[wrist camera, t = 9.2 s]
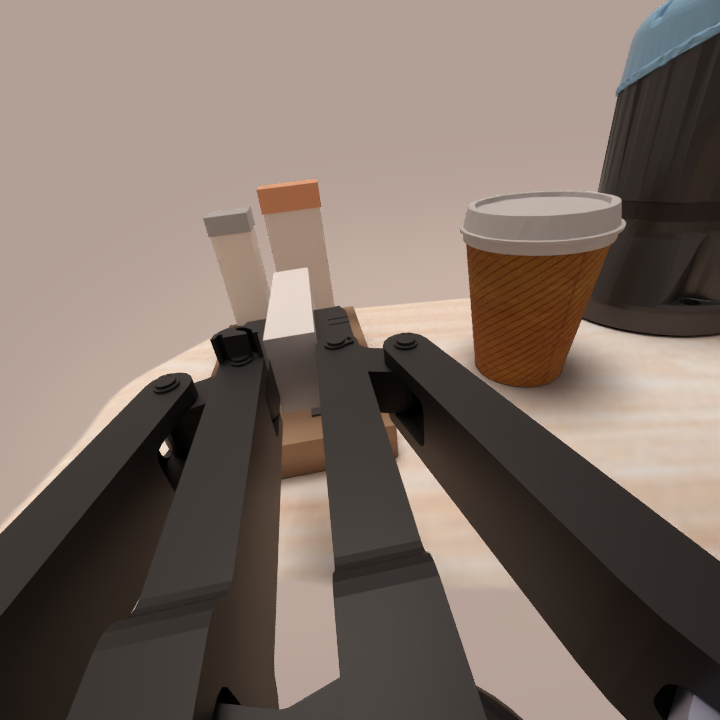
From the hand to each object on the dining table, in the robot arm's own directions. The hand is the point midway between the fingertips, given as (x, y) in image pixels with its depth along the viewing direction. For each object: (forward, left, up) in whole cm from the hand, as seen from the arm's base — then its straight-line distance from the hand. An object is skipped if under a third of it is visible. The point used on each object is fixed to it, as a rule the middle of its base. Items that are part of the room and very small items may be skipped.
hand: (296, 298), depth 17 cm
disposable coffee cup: (-1, -17, -11) cm, 20 cm away
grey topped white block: (+17, -2, -8) cm, 18 cm away
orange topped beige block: (+12, -6, -8) cm, 16 cm away
